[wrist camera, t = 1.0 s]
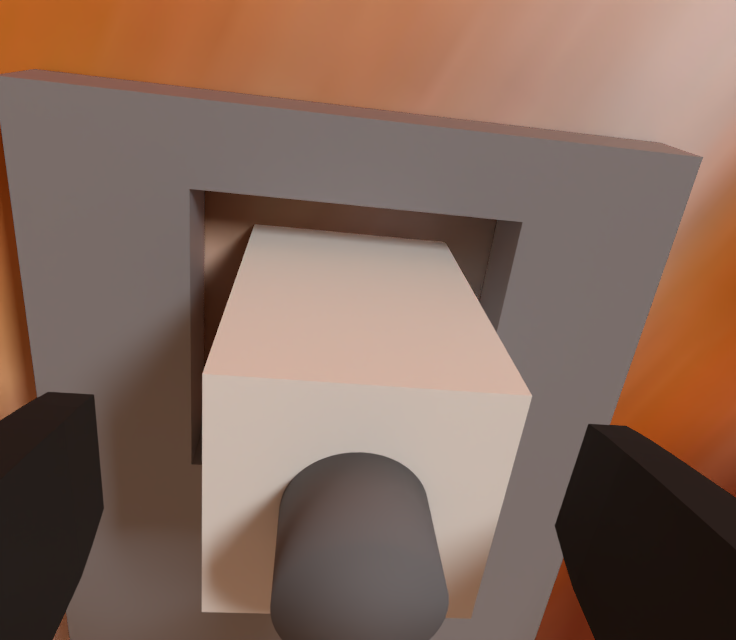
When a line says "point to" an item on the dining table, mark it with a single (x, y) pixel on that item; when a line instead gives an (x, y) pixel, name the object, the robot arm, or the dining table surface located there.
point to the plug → (353, 437)
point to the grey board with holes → (321, 184)
